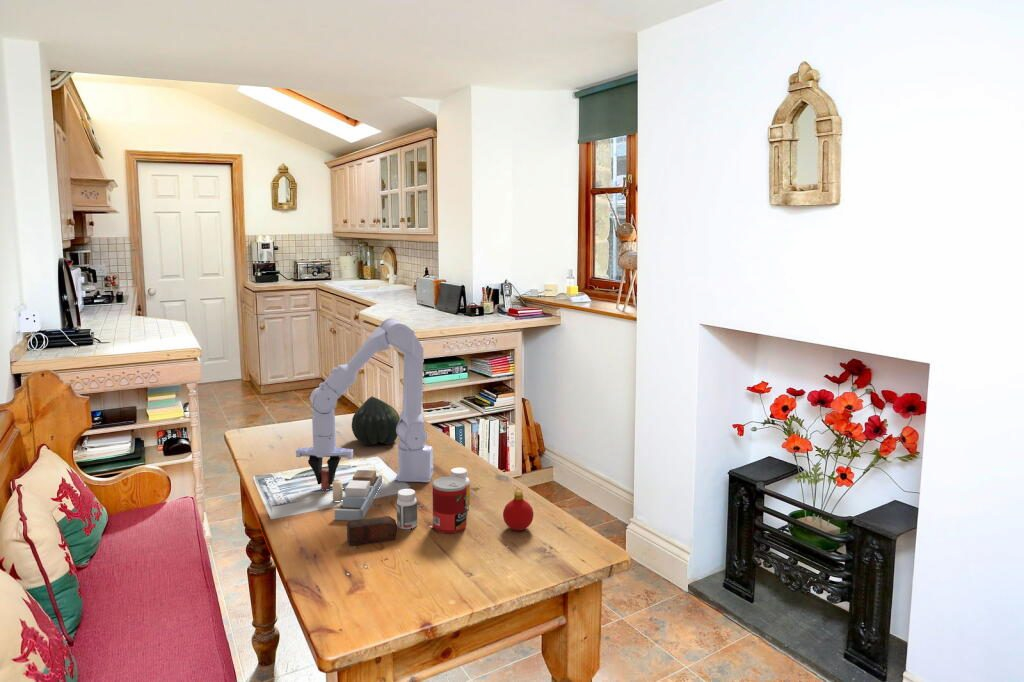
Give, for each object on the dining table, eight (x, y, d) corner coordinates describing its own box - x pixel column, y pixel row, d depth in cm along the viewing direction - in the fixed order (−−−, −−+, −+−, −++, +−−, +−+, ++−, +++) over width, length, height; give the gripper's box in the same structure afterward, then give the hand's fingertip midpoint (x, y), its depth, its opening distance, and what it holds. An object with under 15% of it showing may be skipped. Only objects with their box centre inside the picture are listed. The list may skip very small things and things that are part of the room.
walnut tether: (376, 486, 191) (376, 468, 190) (372, 494, 186) (371, 475, 185) (324, 485, 191) (323, 467, 190) (318, 492, 186) (318, 474, 185)
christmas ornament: (529, 521, 171) (530, 481, 170) (535, 534, 165) (536, 493, 163) (500, 523, 170) (501, 483, 168) (505, 536, 163) (506, 495, 161)
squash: (394, 436, 215) (398, 391, 222) (344, 436, 215) (350, 392, 223) (401, 453, 227) (405, 410, 235) (354, 454, 227) (359, 411, 235)
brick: (349, 547, 157) (349, 528, 156) (346, 540, 161) (346, 520, 160) (397, 540, 161) (397, 521, 160) (393, 533, 165) (393, 513, 164)
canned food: (461, 535, 163) (462, 490, 161) (428, 532, 165) (428, 487, 163) (470, 521, 171) (470, 477, 169) (438, 518, 172) (438, 474, 170)
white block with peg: (370, 497, 183) (369, 479, 183) (365, 505, 179) (365, 486, 178) (335, 496, 184) (335, 477, 183) (330, 504, 179) (329, 485, 178)
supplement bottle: (458, 513, 175) (458, 476, 173) (443, 507, 178) (443, 470, 177) (474, 507, 179) (474, 470, 177) (459, 500, 182) (459, 464, 180)
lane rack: (382, 484, 192) (381, 475, 191) (362, 520, 170) (362, 510, 170) (357, 483, 192) (357, 475, 192) (334, 519, 170) (334, 510, 170)
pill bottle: (420, 522, 170) (420, 489, 168) (411, 531, 165) (411, 497, 164) (402, 519, 171) (402, 486, 169) (393, 527, 167) (392, 494, 165)
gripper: (291, 437, 182) (293, 488, 184) (347, 439, 181) (349, 489, 184) (300, 429, 189) (302, 477, 191) (354, 430, 188) (356, 479, 191)
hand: (325, 483), depth 188 cm, fingers closed on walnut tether, 2 cm apart
